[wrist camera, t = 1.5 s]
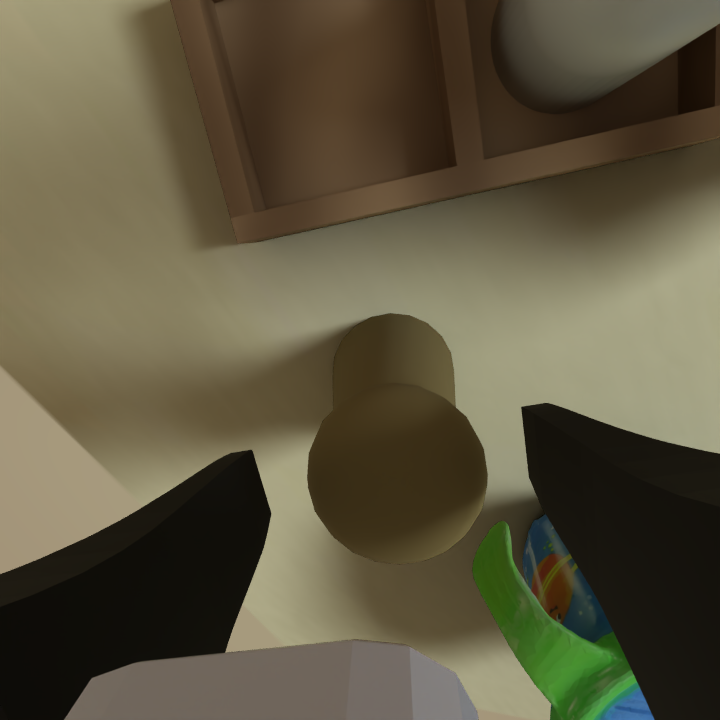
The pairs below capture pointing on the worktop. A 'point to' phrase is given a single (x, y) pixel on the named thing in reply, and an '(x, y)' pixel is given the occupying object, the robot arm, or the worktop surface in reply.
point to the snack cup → (557, 627)
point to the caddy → (403, 109)
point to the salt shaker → (587, 45)
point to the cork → (396, 446)
